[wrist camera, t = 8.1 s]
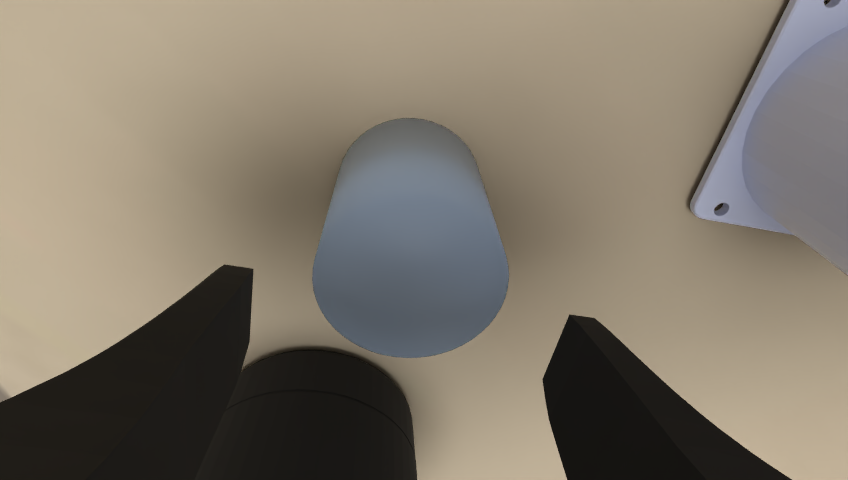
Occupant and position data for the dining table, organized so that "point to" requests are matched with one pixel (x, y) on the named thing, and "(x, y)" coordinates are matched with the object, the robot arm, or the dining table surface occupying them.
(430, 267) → the slate cylinder
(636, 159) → the dining table surface
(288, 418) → the pen holder
